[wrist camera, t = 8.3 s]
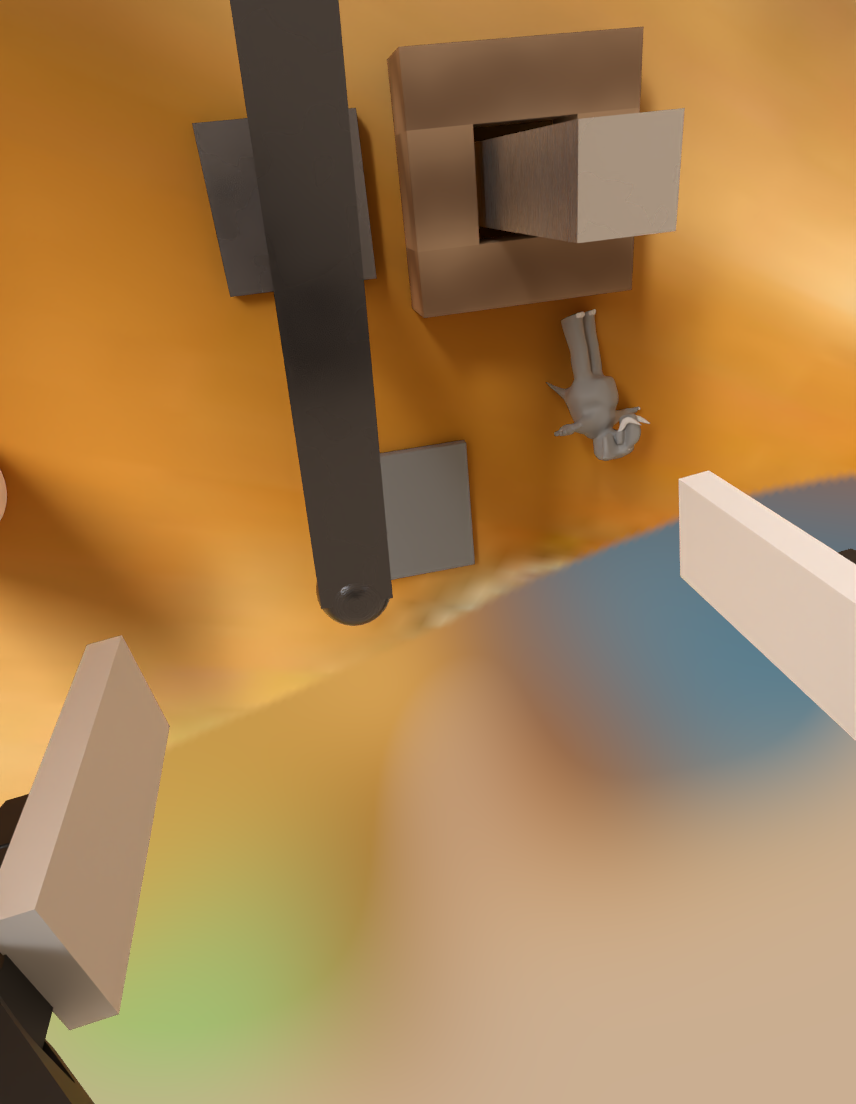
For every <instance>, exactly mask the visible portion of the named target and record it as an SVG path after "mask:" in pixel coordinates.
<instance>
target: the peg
mask: <svg viewBox="0 0 856 1104" xmlns="http://www.w3.org/2000/svg"><path fill="white" fill-rule="evenodd" d="M683 122H684V108H682V109H672V110H662V111H652V112H642V113H632V114H622V115H612V116H602V117H592V118H582V119H576V120H571V121H567V122H562V123H558V124H554V125H549V126H545V127H540V128H536V129H531V130H527V131H523V132H518V133H514V134H509V135H505V136H501V137H496V138H492V139H487V140H483V141H479V142H474V153H475V172H476V191H477V209H478V226H481V227H486V228H492V229H498V230H504V231H509V232H515V233H521V234H527V235H533V236H538V237H544V238H550V239H556V240H561V241H567V242H573V243H584V242H592V241H600V240H607V239H615V238H623V237H631V236H639V235H647V234H655V233H663V232H671V231H676V221H677V207H678V193H679V178H680V164H681V150H682V136H683Z"/></svg>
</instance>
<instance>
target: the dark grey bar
mask: <svg viewBox="0 0 856 1104" xmlns="http://www.w3.org/2000/svg"><path fill="white" fill-rule="evenodd" d="M230 4H231V11H232V17H233V24H234V31H235V37H236V44H237V51H238V57H239V64H240V71H241V77H242V84H243V91H244V97H245V104H246V111H247V117H248V124H249V131H250V137H251V144H252V151H253V157H254V164H255V171H256V177H257V184H258V191H259V197H260V204H261V211H262V217H263V224H264V231H265V237H266V244H267V251H268V257H269V264H270V271H271V277H272V284H273V291H274V297H275V304H276V311H277V317H278V324H279V331H280V337H281V344H282V351H283V357H284V364H285V371H286V377H287V384H288V391H289V397H290V404H291V411H292V417H293V424H294V431H295V437H296V444H297V451H298V457H299V464H300V471H301V477H302V484H303V491H304V497H305V504H306V511H307V517H308V524H309V530H310V537H311V544H312V550H313V557H314V564H315V570H316V577H317V584H316V593H317V598H318V601H319V604H320V606H321V609H323V611H324V612H325V613H326V614H327V615H328V616H329V617H330V618H332V619H333V620H335V621H337V622H339V623H341V624H344V625H350V626H356V625H363V624H366V623H369V622H371V621H373V620H374V619H376V618H377V617H378V616H379V615H380V614H381V613H382V612H383V611H384V610H385V608H386V606H387V604H388V602H389V599H390V598H393V595H392V584H391V573H390V562H389V551H388V540H387V529H386V518H385V507H384V496H383V485H382V474H381V463H380V452H379V441H378V430H377V419H376V408H375V397H374V386H373V375H372V364H371V353H370V342H369V332H368V321H367V310H366V299H365V288H364V277H363V266H362V255H361V244H360V233H359V222H358V211H357V200H356V189H355V178H354V167H353V156H352V145H351V134H350V123H349V112H348V101H347V90H346V79H345V68H344V57H343V46H342V35H341V24H340V13H339V2H338V0H230Z"/></svg>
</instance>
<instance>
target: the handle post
mask: <svg viewBox="0 0 856 1104" xmlns="http://www.w3.org/2000/svg"><path fill="white" fill-rule="evenodd" d="M348 112H349V123H350V134H351V145H352V156H353V167H354V178H355V189H356V200H357V211H358V222H359V233H360V244H361V255H362V266H363V277H364V280H367V279H375V278H376V270H375V262H374V253H373V245H372V237H371V229H370V221H369V212H368V204H367V196H366V188H365V180H364V171H363V163H362V155H361V147H360V139H359V130H358V122H357V114H356V108H351V109H348ZM192 125H193V129H194V134H195V138H196V143H197V147H198V152H199V156H200V161H201V166H202V170H203V175H204V179H205V184H206V188H207V193H208V197H209V202H210V206H211V211H212V215H213V220H214V225H215V229H216V234H217V238H218V243H219V247H220V252H221V256H222V261H223V265H224V270H225V275H226V279H227V284H228V288H229V293H230V297H234V296H242V295H249V294H257V293H265V292H273V284H272V277H271V271H270V264H269V257H268V251H267V244H266V237H265V231H264V224H263V217H262V211H261V204H260V197H259V191H258V184H257V177H256V171H255V164H254V157H253V151H252V144H251V137H250V131H249V124H248V118H244V119H234V120H223V121H213V122H202V123H192Z"/></svg>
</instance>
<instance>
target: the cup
mask: <svg viewBox="0 0 856 1104" xmlns="http://www.w3.org/2000/svg"><path fill="white" fill-rule="evenodd" d="M6 502H7V489H6V484H5V480H4V477H3V474H2V472H1V470H0V520H1V518H2V517H3V514H4V511H5V508H6Z"/></svg>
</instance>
